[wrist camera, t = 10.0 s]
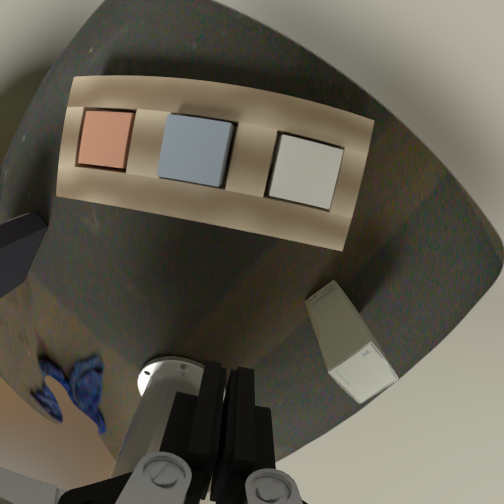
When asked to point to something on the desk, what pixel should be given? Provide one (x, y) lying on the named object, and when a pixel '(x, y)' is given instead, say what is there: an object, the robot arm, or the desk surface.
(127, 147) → the terracotta key
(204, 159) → the slate key
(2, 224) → the calculator
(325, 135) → the key console
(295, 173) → the offwhite key
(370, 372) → the skincare box
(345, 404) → the desk surface
